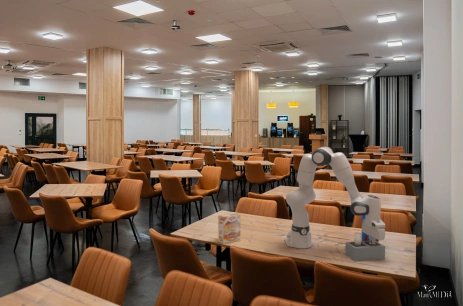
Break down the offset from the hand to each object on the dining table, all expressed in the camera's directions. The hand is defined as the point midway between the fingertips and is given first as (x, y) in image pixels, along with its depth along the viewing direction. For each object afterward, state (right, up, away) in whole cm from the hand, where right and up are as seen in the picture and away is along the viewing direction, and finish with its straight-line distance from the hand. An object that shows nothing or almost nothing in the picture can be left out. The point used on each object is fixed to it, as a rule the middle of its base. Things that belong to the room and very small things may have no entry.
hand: (372, 243), depth 232 cm
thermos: (+5, -7, +19) cm, 21 cm away
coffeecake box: (-90, -7, +31) cm, 95 cm away
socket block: (-5, -8, 0) cm, 10 cm away
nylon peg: (-10, -2, -2) cm, 10 cm away
